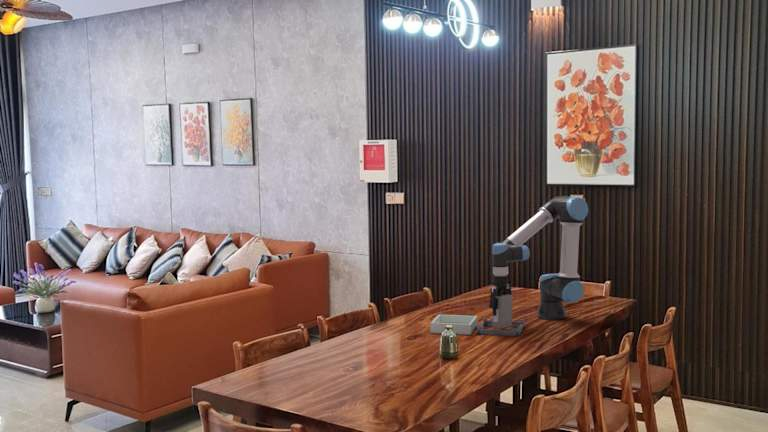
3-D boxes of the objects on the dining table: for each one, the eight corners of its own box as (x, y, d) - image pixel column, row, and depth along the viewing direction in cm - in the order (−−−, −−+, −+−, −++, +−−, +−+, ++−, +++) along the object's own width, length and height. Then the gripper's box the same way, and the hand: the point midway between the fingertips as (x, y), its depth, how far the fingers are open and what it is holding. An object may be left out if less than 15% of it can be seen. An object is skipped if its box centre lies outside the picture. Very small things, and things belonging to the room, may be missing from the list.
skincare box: (502, 323, 378) (503, 292, 377) (513, 326, 373) (514, 294, 371) (491, 326, 373) (491, 294, 372) (501, 328, 367) (502, 296, 366)
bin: (477, 325, 385) (477, 316, 384) (470, 334, 366) (470, 324, 365) (439, 324, 390) (438, 314, 390) (430, 332, 371) (430, 322, 371)
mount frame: (524, 326, 380) (524, 318, 380) (520, 336, 360) (520, 328, 360) (483, 324, 386) (483, 317, 386) (476, 334, 366) (476, 326, 366)
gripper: (507, 271, 381) (508, 315, 383) (480, 277, 367) (482, 323, 369) (519, 272, 376) (520, 317, 378) (493, 278, 361) (494, 325, 363)
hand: (501, 320), depth 373 cm, fingers closed on skincare box, 8 cm apart
